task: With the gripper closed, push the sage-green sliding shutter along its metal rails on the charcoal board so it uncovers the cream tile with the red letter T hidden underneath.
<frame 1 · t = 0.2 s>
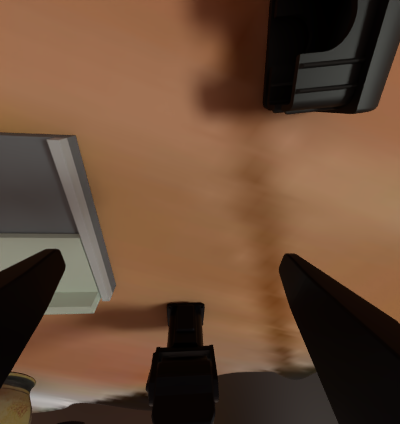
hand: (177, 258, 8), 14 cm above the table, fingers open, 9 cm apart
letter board: (42, 227, 23), on the table
end cap: (306, 45, 16), on the table
amphora: (15, 378, 44), on the table
sage shutter: (40, 276, 23), point 3 cm above the table, slide at 0.0 cm
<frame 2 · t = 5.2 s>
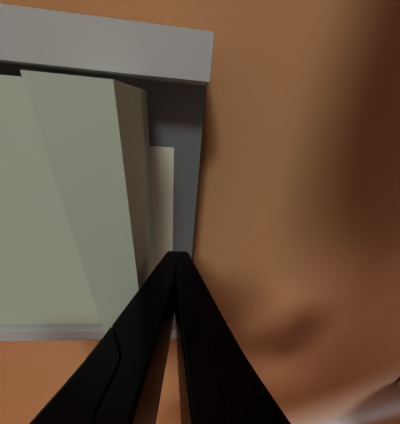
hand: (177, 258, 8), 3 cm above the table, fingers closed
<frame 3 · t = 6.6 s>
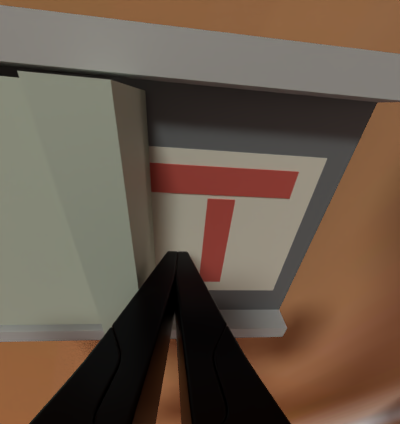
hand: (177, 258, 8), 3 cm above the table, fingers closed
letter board: (100, 215, 10), on the table
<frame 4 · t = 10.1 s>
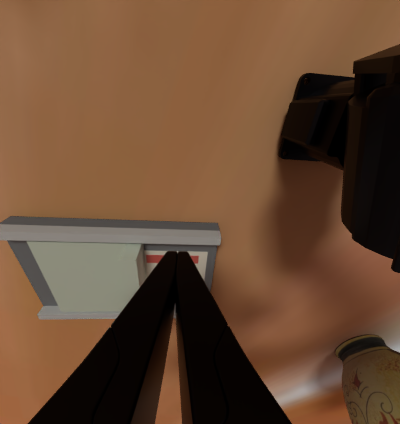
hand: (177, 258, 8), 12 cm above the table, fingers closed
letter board: (126, 265, 24), on the table
amphora: (358, 344, 38), on the table
sage shutter: (94, 286, 21), point 3 cm above the table, slide at 7.8 cm
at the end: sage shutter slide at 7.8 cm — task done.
